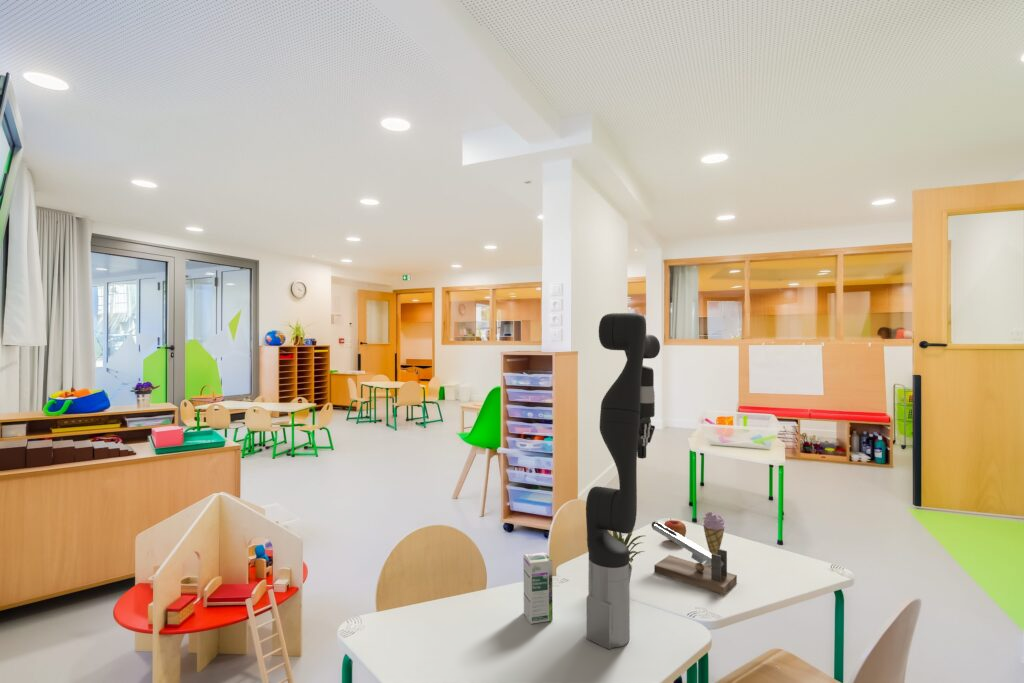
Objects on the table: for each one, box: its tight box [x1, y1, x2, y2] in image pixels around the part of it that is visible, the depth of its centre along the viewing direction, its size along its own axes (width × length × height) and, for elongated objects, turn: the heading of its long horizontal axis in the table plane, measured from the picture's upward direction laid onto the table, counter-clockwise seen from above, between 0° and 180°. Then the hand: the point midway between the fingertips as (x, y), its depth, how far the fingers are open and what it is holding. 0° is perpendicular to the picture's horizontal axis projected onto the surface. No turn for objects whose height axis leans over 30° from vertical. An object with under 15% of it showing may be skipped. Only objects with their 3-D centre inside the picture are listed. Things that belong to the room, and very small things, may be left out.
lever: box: [651, 520, 725, 567], centre depth 142 cm, size 3×22×3 cm, turn 47°
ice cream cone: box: [702, 510, 726, 555], centre depth 153 cm, size 7×6×15 cm
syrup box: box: [522, 551, 554, 625], centre depth 118 cm, size 6×6×14 cm
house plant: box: [612, 528, 646, 585], centre depth 132 cm, size 14×14×16 cm
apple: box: [663, 518, 687, 543], centre depth 167 cm, size 7×7×8 cm
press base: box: [653, 548, 738, 596], centre depth 140 cm, size 10×20×9 cm, turn 47°
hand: (641, 457), depth 147 cm, fingers closed
